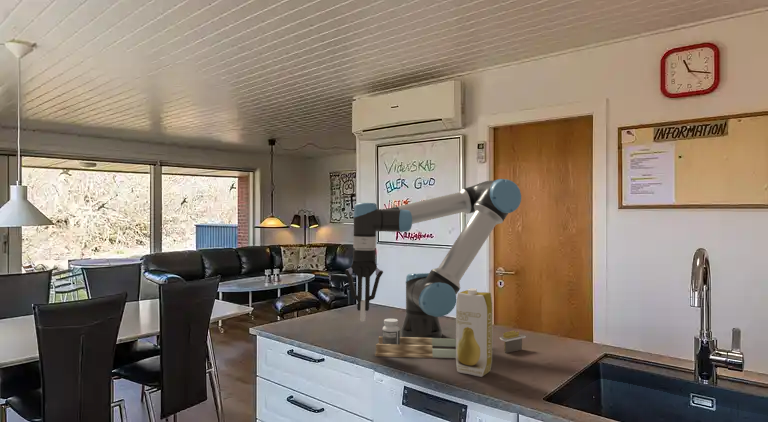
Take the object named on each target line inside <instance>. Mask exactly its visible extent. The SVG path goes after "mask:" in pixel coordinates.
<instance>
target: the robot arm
mask: <svg viewBox="0 0 768 422" xmlns="http://www.w3.org/2000/svg"><path fill="white" fill-rule="evenodd" d="M521 202H522V193H521V190H520V188H519V186H518V185H517V183H515V182H514V181H513V180H511V179H508V178H507V179H506V178H498V179H494V180H487V181H486V180H485V181H482V182H479V183H476V184H474V185H472V186H469V187H464V188H461V189H460V190H459V192H454V193H450V194H446V195H442V196H437V197H434V198H433V197H432V198H429V199H425V200H419V201H416V202H410V203H407V204H402V205H397V206H393V207H390V208H383V209H382V208H381V209H380V208H378V207H377V206H378V205H377V204H376V203H375V202H357V203H355V204H354V211H353V238H352V239H353V240H352V242H353V243H352V245H353V246H352V247H353V250H352V262H351V265H350V267H349V268H347V269H345V270H344V274H345V276H346V278H347V280H348V285H349V290H350V294H351V295H350V296H351V298H352V299H353V300H356V301H357V307H356V308H357V311H359V312H360V314H359V315H360V317H359V319H360V320H359V322H366V320H367V318H366V316H367V314H366V313H367V312H369V310H370V301H372V300H375V297H376V295H377V294H376V293H377V291H378V287H379V283H380V279H381V277H382V275H383V273H384V270H382V269H379V268H378V266H377V265H378V264H377V263H376V257H377V256H376V255H377V252H376V248H377V247H376V246H377V232H380V233H381V232H386V233H387V232H388V233H390V232H393V233H394V232H395V233H399V232H400V233H403V232H404V233H405V232H410V231H411V229H412V227H413V224H418V223H423V222H427V221H431V220H436V219H439V218H444V217H448V216H452V215H457V214H461V213H465V215H466V214H467V215H468V214H472V215H471V217H470V219H469V220H468V222H467V223H466V225H465V226H464V227H463V229H462V231H461V232H460V234H459V235H458V237H457V238H456V240H455V241H454V243H453V244H452V246H451V247H450V249H449V250H448V252H447V253H446V255H445V257H443V260H442V261H441V263H440V264H439V266H438V267H437V268H432V269H431V270H430V271H429V273H427V272H425V273H423V272H422V273H418V272H417V273H408V274H407V275H406V277H405V279H406V280H405V316H404V320H403V322H402V324H401V325H402V326H401V328H400V337H417V338H442V337H443V328H442V326H441V322H440V319H439V318H440V317H444V316H447V315H449V314H450V313H451V312H453V310H454V309H455V307H456V302H457V295H458V293H459V291H460V289H461V285H460V282H461V280H462V278H463V276H464V275H465V273H466V272H467V270H468V269H469V267H470V266H471V264H472V262H473V260H474V259H475V258H476V256H477V255H478V253H479V252H480V250H481V249H482V248H483V246H484V244H485V243H486V240H487V239H488V237H489V236H490V235H491V233H492V232H493V230H494V228H495V226H496V225H499V224H503V222H504V221H505V220H506V218H507V216H508V215H509V214H511V213H513V212H515V211H516V210H517V209H518V208H519V207H520V205H521ZM353 273H354V274H355V276H357V291H356V288H355V282H354V278H353ZM374 273H375V275H376V277H375V280H374V283H373V287H372V291H370V290H371V282H370V281H371V276H372V275H374ZM363 278H364V279H365V280H364V282H365V283H364V284H365V291H364V299H363ZM370 292H371V293H370ZM370 294H371V295H370Z"/></svg>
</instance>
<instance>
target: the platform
mask: <svg viewBox="0 0 768 422" xmlns="http://www.w3.org/2000/svg"><path fill="white" fill-rule="evenodd" d="M502 333H503V334H502V336H499V339H500V340H501V341H503V342H504V354H509V353H512V352H517V351H521V350H522V349H523V339H526V335H525V334H520V331H516V330H510V331H506V332H502Z"/></svg>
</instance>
